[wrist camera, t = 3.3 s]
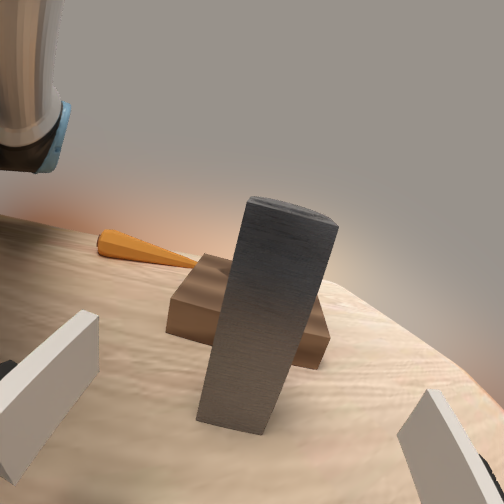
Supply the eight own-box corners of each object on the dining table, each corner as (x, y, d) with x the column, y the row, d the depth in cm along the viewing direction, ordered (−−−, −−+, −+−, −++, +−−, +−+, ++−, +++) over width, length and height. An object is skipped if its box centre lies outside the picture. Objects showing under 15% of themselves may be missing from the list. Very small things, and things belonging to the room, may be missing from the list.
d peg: (261, 435, 21) (339, 226, 16) (195, 420, 21) (246, 201, 16) (264, 394, 25) (324, 212, 21) (207, 380, 25) (253, 193, 21)
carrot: (93, 260, 44) (95, 238, 42) (100, 242, 48) (103, 220, 45) (214, 290, 51) (223, 271, 49) (213, 270, 55) (222, 251, 52)
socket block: (317, 369, 31) (330, 338, 30) (165, 332, 31) (170, 298, 30) (304, 305, 46) (312, 281, 45) (199, 278, 46) (204, 253, 45)
